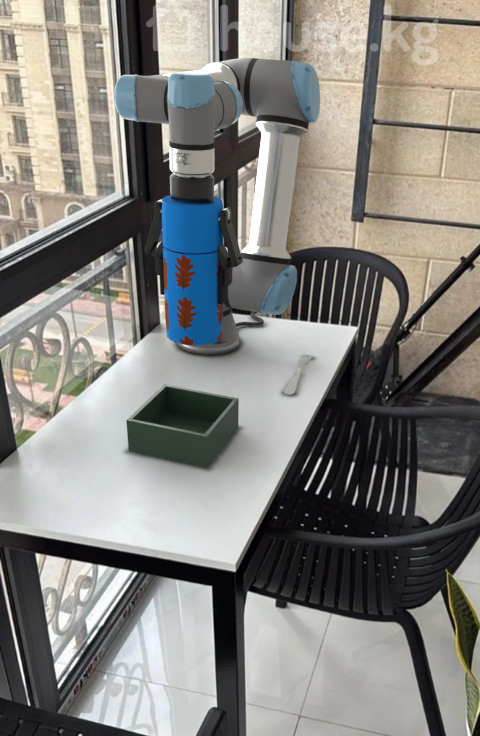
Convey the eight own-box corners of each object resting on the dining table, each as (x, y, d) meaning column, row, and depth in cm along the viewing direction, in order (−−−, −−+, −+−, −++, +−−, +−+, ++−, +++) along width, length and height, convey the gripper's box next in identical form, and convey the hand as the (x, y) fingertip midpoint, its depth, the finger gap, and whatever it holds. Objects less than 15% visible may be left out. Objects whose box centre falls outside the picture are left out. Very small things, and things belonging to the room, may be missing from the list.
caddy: (165, 413, 156) (164, 384, 153) (238, 428, 153) (238, 398, 149) (128, 451, 143) (126, 420, 139) (207, 468, 139) (206, 436, 136)
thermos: (212, 349, 139) (213, 210, 126) (157, 341, 140) (152, 203, 127) (229, 328, 148) (230, 196, 135) (177, 321, 149) (173, 190, 137)
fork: (281, 402, 168) (282, 392, 166) (303, 356, 184) (303, 346, 182) (294, 404, 167) (294, 394, 166) (314, 358, 183) (314, 348, 182)
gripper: (120, 169, 129) (127, 293, 140) (248, 185, 123) (245, 313, 134) (140, 162, 135) (146, 282, 146) (263, 177, 129) (259, 300, 141)
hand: (193, 297), depth 140 cm, fingers closed on thermos, 11 cm apart
